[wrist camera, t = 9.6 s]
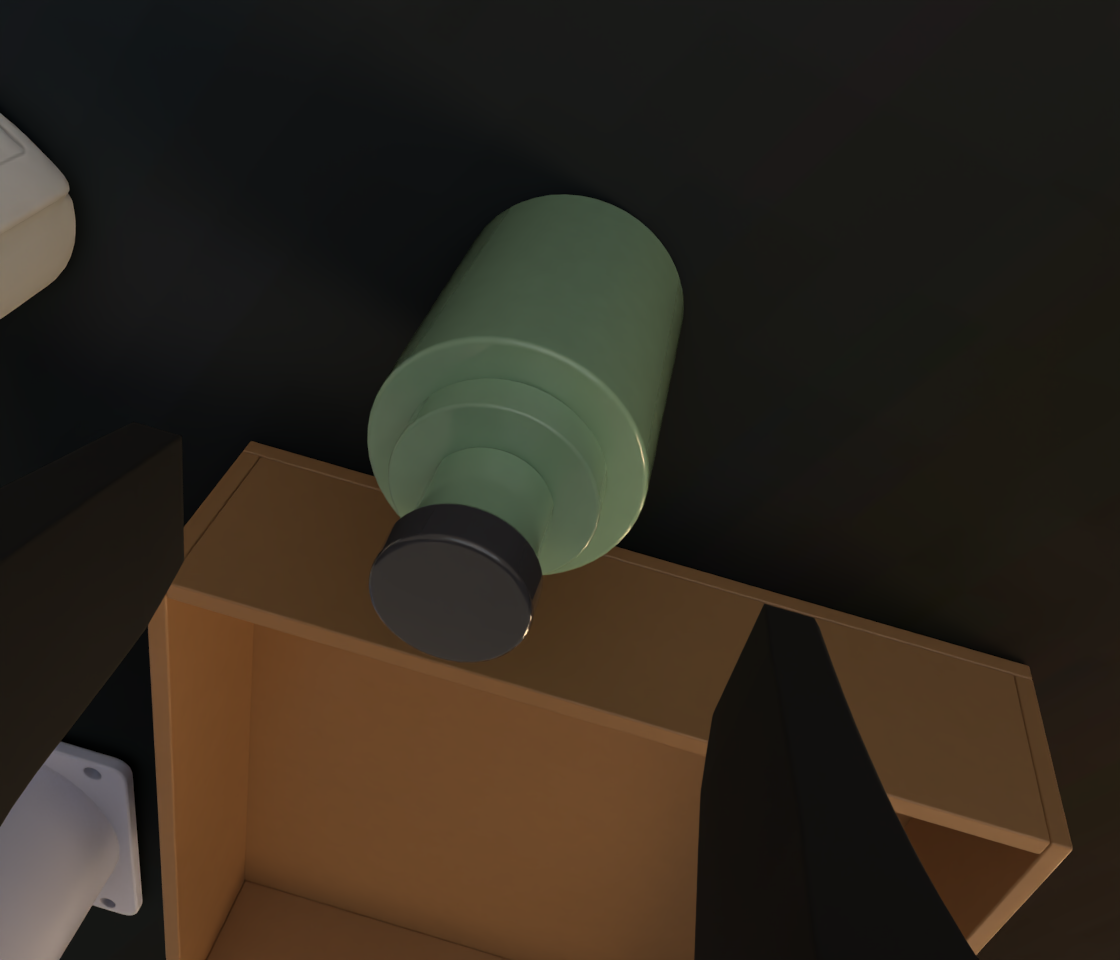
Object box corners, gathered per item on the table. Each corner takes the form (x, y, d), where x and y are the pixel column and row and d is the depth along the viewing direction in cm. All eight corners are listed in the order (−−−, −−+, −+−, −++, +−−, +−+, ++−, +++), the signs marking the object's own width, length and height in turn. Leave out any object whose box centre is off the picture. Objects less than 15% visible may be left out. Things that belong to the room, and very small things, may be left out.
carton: (764, 1029, 31) (759, 1192, 28) (238, 871, 32) (168, 1011, 28) (1029, 665, 21) (1074, 849, 18) (250, 439, 22) (143, 576, 18)
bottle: (448, 364, 20) (277, 668, 13) (482, 164, 17) (292, 419, 11) (650, 422, 20) (576, 757, 13) (713, 229, 17) (658, 525, 11)
